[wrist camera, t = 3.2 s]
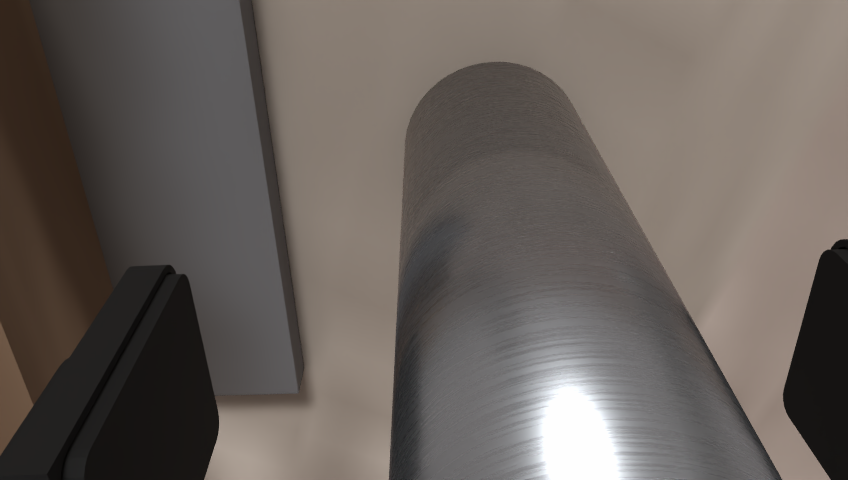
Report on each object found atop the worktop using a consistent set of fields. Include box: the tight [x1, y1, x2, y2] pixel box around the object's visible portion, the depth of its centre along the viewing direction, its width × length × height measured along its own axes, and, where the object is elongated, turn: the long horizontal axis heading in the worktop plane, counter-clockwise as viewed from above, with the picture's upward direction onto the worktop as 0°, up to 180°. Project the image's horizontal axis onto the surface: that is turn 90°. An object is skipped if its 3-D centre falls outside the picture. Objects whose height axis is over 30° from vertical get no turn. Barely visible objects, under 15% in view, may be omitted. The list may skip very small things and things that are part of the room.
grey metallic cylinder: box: [389, 62, 782, 480], centre depth 11 cm, size 4×4×12 cm
